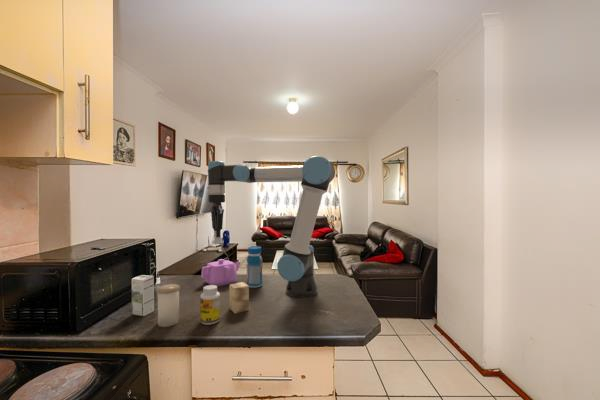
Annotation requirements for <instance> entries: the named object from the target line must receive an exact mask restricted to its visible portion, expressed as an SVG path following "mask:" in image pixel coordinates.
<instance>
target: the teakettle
mask: <svg viewBox="0 0 600 400" xmlns="http://www.w3.org/2000/svg"><path fill="white" fill-rule="evenodd" d="M240 265H241V261H236V262H234V261H230V260H228V259H224V258H220V259H217V260H216V261H211V262H207V263H206V265H205V266H202V267H201V276H200V278H202V279H203V280H205V282H206V284H208V285H216V286H217V287H221V286H225V285H227V286H228V285H229V284H235V283H237V278H238V274H237V273H238V269H239V267H240Z"/></svg>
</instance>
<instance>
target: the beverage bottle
mask: <svg viewBox="0 0 600 400" xmlns="http://www.w3.org/2000/svg"><path fill="white" fill-rule="evenodd" d="M261 253H262V246H259V245H258V246H257V245H253V246H249V247H248V248H247V254H248V255H247V258H246V265H245V266H246V267H245V268H246V284H247V285H248V286H249V288H250V289H251V288H260V287H262V286H263V267H264V266H263V265H264V264H263V257H262V255H261Z"/></svg>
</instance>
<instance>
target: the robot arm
mask: <svg viewBox="0 0 600 400" xmlns="http://www.w3.org/2000/svg"><path fill="white" fill-rule="evenodd" d="M207 168H208V169H207V178H208V179H207V180H208V183H207V184H208V187H206V189H207V190H208V192H207V193H208V194H209V195H208V199H207V201H208V203H211V204H212V206H211V208H210V213H211V215H210V216H211V226H212V229H213V244H214V245H221V244H222V240H221V239H222V236H221V230H223V224H224V223H223V222H224V221H223V220H224V212H225V209H223V206H222V203H226V195H225V194H226V183H225V182H240V183H247V184H252V183H282V182H283V183H287V182H289V183H292V182H296V183H297V182H298V183H299V182H300V186H301V187H302V192H301V198H300V201H299V205H298V208H297V213H296V217H295V220H294V224H293V228H292V232H291V235H290V239H289V241H288V243H286V244H285V245H284V249H283V252H282V255H281V256H280V258H279V259H278V261H277V264H276V269H277V272H278V274H279V276H280V277H281V278H282V279H284V280H285V281H287V284H286V286H285V293H286V295H288V296H290V297H295V298H309V297H313V296H316V295H317V293H318V285H317V283H316V280H315V277H314V266H315V265H314V254H315V250H314V249H315V248H314V246H313V245H312V244H310V243H311V239H312V236H313V233H314V228H315V225H316V220H317V217H318V215H319V214H318V213H319V209H320V206H321V202H322V198H323V196H324V194H325V193H327V192H328V190H329V186H330V183H331V182H332V181H333V180H334V178H335V175H336V168H335V166H334V164H333V163H332V162H331V161H329V160H328V158H326V157H323V156H320V155H313V156H311V157H308V158H307V159H306V160H305V161H304V162H303V165H290V166H289V165H287V166H264V167H263V166H258V167H257V166H256V167H255V166H253V167H251V166H250V167H248V165H246V164H240V163H239V164H230V165H225V162H224V161H220V160H212V161H209V162H208V165H207Z"/></svg>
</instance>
